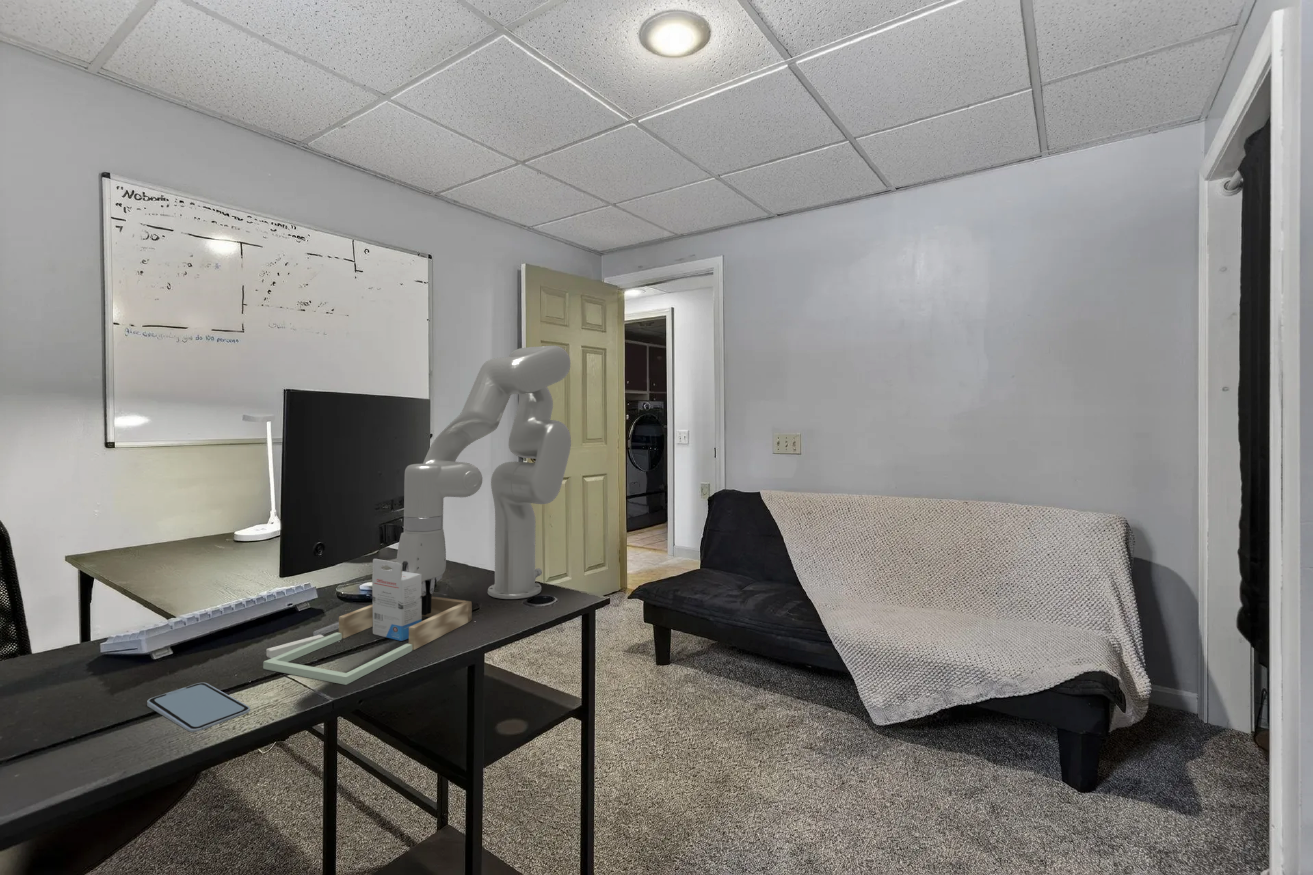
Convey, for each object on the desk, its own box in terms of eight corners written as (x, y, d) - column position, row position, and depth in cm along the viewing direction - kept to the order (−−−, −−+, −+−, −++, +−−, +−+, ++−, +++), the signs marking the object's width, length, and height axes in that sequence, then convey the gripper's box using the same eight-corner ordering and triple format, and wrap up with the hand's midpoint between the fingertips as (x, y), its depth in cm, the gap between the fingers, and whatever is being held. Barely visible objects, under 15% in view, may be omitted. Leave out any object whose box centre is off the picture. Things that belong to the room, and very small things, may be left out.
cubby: (403, 611, 129) (403, 592, 129) (471, 620, 124) (471, 601, 124) (338, 637, 113) (338, 616, 113) (414, 649, 108) (414, 627, 107)
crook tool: (362, 617, 125) (362, 612, 125) (381, 620, 123) (382, 615, 123) (313, 636, 114) (313, 631, 114) (333, 640, 112) (333, 634, 112)
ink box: (423, 633, 116) (423, 558, 115) (401, 642, 111) (401, 563, 111) (393, 626, 120) (393, 553, 119) (371, 634, 115) (371, 558, 115)
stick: (320, 642, 111) (320, 634, 111) (324, 644, 110) (324, 636, 110) (266, 657, 104) (266, 648, 104) (270, 660, 103) (270, 650, 103)
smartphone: (191, 731, 78) (144, 699, 86) (191, 738, 78) (144, 706, 86) (253, 708, 85) (203, 681, 92) (253, 714, 85) (203, 687, 92)
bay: (336, 638, 113) (336, 632, 113) (412, 650, 107) (412, 644, 107) (263, 668, 99) (263, 661, 99) (346, 684, 93) (346, 677, 93)
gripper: (432, 518, 130) (431, 601, 131) (381, 528, 116) (379, 622, 116) (461, 520, 128) (460, 605, 128) (413, 531, 114) (411, 627, 114)
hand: (422, 613), depth 122 cm, fingers closed
